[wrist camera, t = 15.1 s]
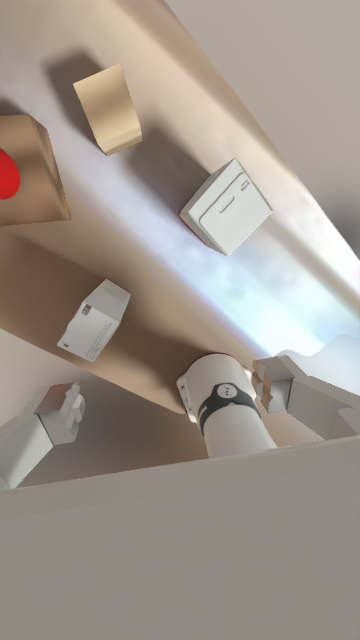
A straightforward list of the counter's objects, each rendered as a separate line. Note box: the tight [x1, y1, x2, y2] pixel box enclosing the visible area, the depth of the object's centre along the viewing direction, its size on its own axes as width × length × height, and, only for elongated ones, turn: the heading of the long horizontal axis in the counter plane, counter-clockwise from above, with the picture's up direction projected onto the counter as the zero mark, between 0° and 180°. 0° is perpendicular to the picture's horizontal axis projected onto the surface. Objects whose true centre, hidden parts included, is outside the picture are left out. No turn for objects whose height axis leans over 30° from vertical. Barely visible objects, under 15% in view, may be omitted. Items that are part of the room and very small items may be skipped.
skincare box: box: [57, 279, 131, 363], centre depth 37 cm, size 8×6×15 cm
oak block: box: [73, 63, 143, 156], centre depth 29 cm, size 6×6×6 cm
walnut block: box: [0, 114, 71, 226], centre depth 31 cm, size 12×12×5 cm
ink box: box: [178, 158, 273, 256], centre depth 33 cm, size 9×9×12 cm
